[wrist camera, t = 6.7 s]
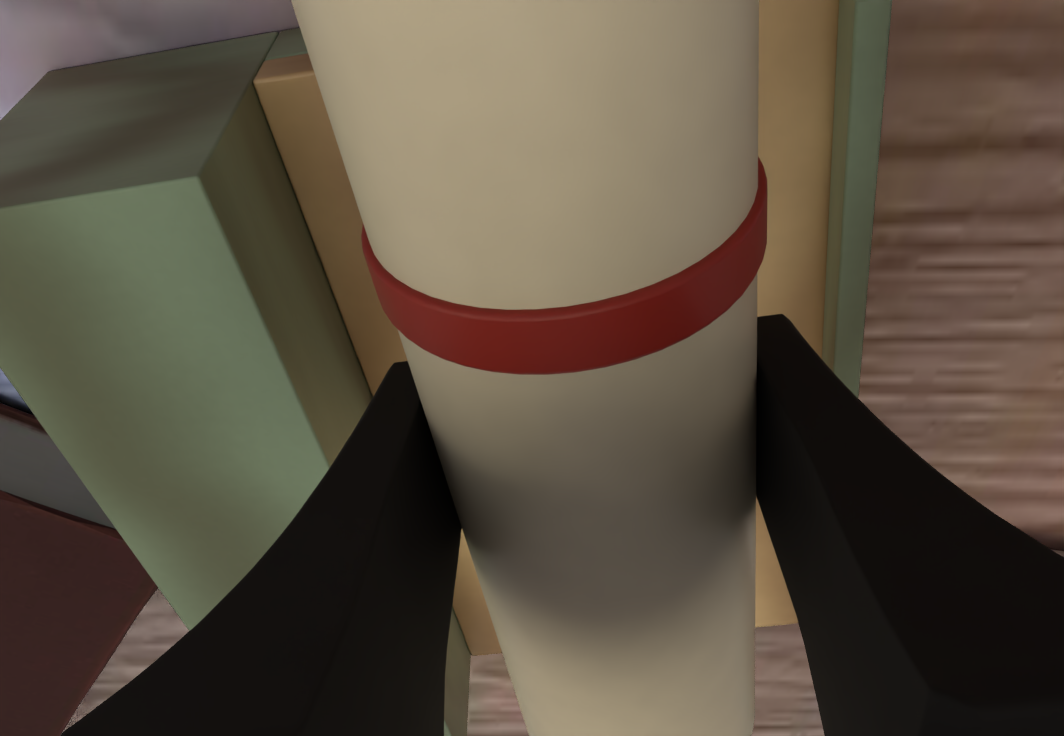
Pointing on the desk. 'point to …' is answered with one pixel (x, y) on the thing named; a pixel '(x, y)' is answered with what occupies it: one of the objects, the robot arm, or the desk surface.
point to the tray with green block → (323, 285)
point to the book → (55, 582)
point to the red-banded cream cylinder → (576, 324)
